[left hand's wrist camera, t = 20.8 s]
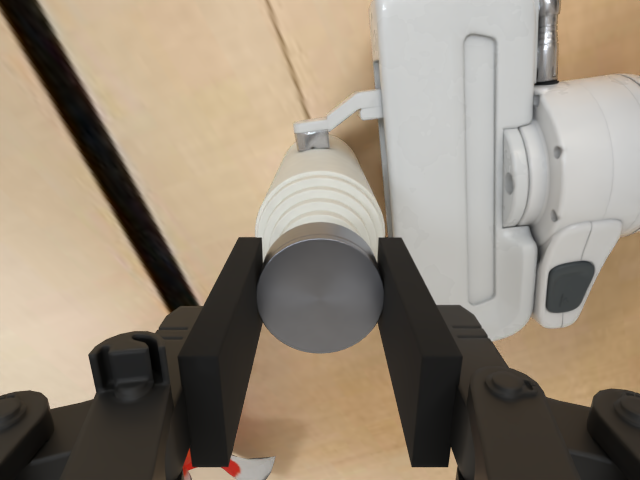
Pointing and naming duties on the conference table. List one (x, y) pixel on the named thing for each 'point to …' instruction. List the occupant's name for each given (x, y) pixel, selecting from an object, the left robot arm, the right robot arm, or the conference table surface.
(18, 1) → the conference table surface
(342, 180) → the bottle
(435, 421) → the left robot arm
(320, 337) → the cap
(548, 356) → the conference table surface
